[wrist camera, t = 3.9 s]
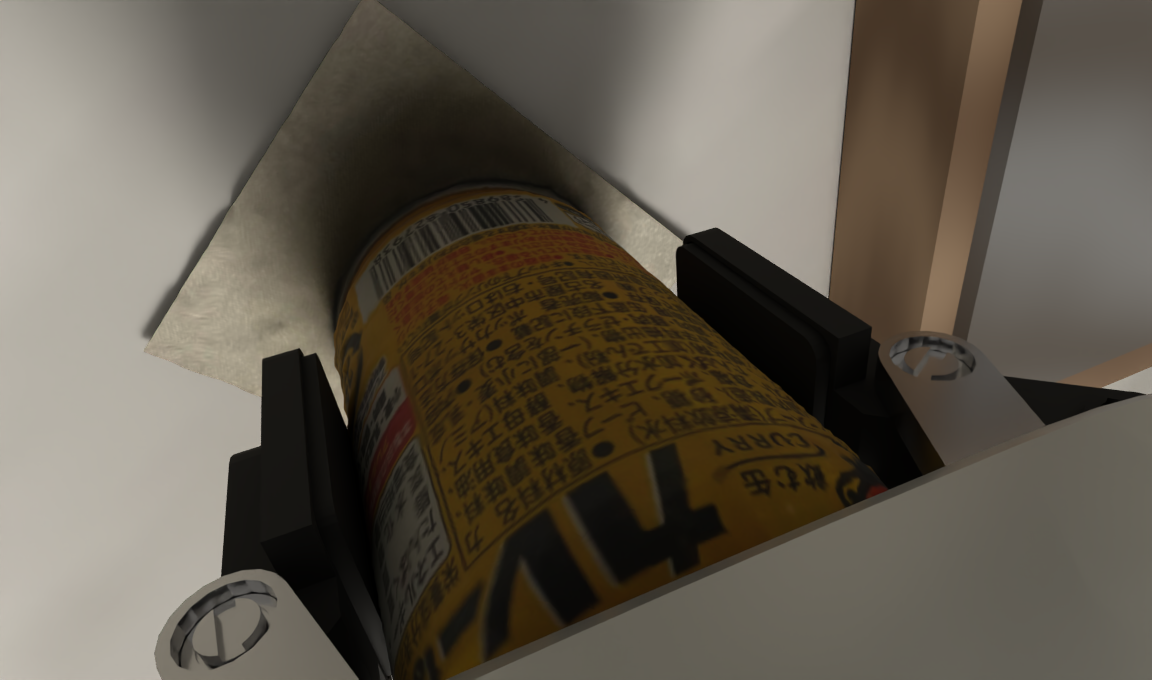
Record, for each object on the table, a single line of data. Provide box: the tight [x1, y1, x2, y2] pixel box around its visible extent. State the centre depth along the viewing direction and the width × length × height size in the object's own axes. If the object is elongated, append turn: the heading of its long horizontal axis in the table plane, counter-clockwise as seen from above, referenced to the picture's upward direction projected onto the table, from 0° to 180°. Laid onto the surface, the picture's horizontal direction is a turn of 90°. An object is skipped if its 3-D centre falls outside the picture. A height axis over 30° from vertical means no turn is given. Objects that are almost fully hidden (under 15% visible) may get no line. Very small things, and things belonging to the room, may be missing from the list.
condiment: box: [144, 0, 889, 680], centre depth 9 cm, size 7×8×12 cm
